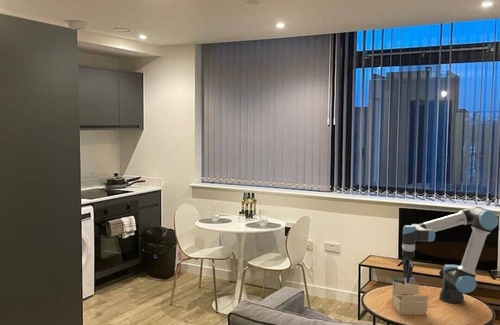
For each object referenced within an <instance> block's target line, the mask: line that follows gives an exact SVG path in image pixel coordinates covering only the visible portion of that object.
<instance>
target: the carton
mask: <svg viewBox="0 0 500 325" xmlns="http://www.w3.org/2000/svg"><path fill="white" fill-rule="evenodd" d="M403 297H404V295H394V296H393V300H392V305H393V308H394V310H396V312H397V313H398V314H399V315H400V316H427V312H428V301H427V302H414V301H402V299H403Z"/></svg>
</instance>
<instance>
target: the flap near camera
mask: <svg viewBox="0 0 500 325" xmlns="http://www.w3.org/2000/svg"><path fill="white" fill-rule="evenodd" d="M429 298H430V295H420V294H414V295H404V297H403V299H402V301H414V302H427V303H428V299H429Z"/></svg>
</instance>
